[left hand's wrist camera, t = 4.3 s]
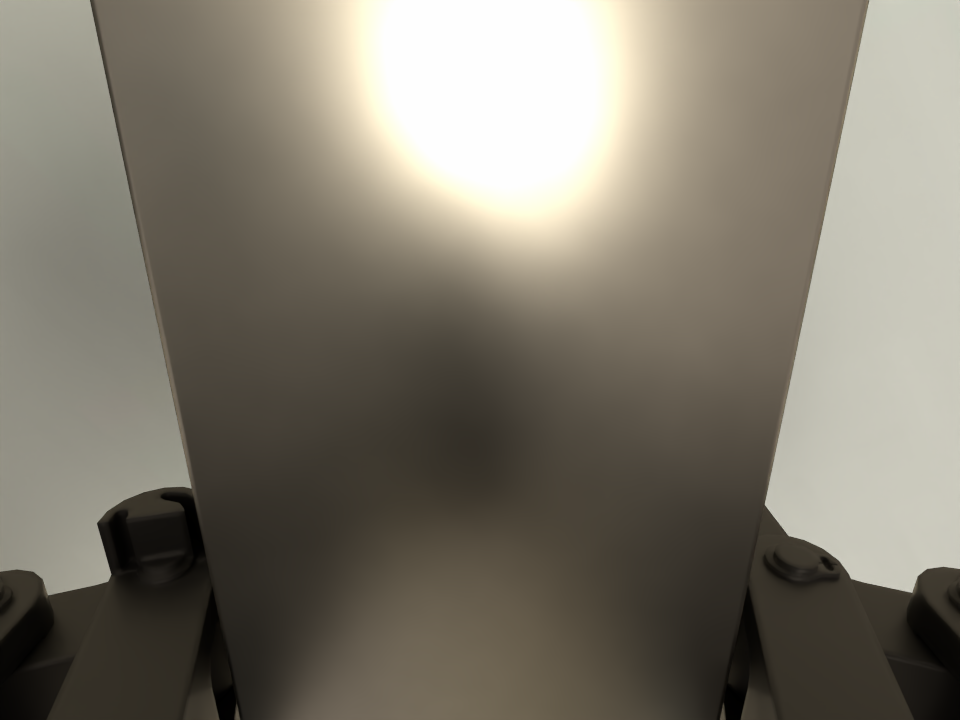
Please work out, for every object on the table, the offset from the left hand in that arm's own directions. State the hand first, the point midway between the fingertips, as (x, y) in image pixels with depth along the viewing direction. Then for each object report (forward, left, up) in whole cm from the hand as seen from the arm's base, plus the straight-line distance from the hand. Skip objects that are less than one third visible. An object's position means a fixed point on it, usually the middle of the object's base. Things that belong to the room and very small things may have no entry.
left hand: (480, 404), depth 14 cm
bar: (-2, +7, -1) cm, 8 cm away
